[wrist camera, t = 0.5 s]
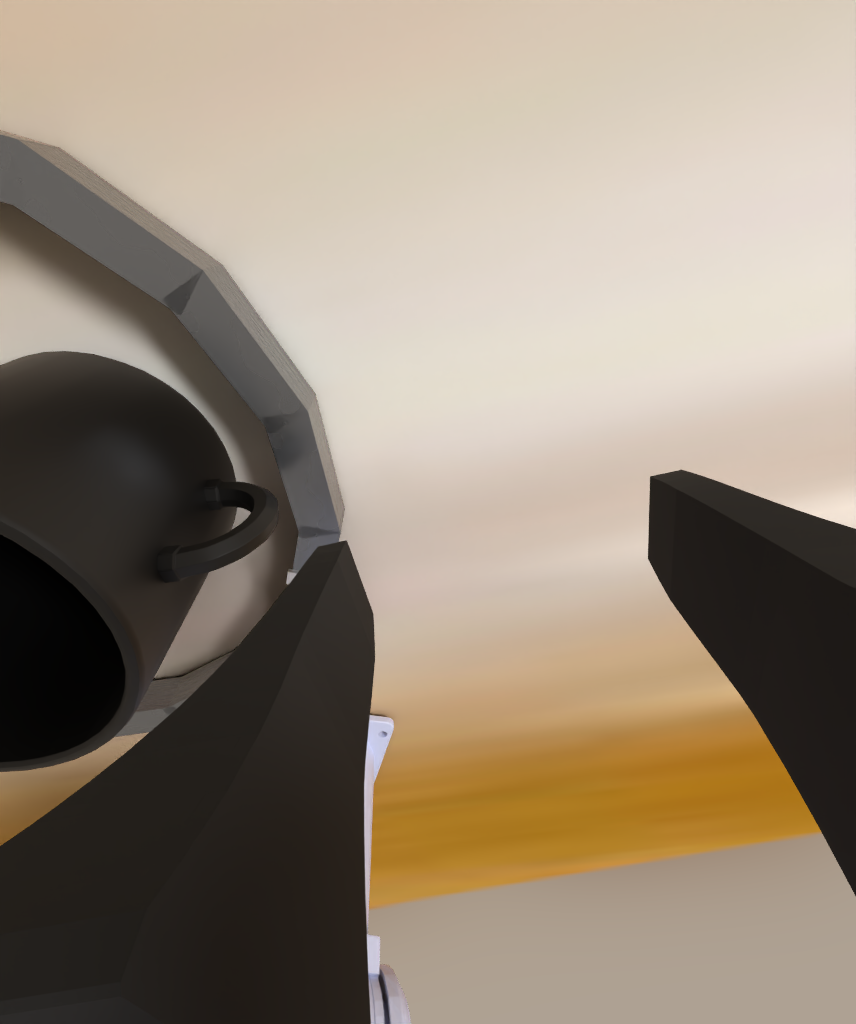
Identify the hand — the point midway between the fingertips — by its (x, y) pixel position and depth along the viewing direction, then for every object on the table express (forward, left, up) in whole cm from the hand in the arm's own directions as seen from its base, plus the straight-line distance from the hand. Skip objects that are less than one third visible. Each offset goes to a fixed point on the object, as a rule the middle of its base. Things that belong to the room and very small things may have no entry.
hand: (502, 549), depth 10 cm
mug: (-5, +11, -10) cm, 15 cm away
